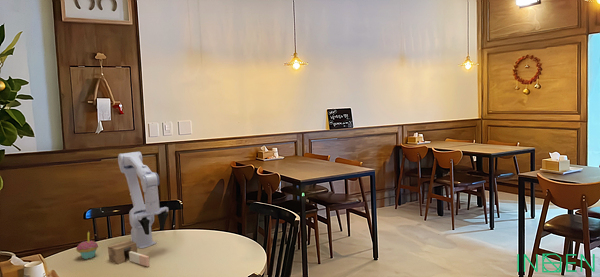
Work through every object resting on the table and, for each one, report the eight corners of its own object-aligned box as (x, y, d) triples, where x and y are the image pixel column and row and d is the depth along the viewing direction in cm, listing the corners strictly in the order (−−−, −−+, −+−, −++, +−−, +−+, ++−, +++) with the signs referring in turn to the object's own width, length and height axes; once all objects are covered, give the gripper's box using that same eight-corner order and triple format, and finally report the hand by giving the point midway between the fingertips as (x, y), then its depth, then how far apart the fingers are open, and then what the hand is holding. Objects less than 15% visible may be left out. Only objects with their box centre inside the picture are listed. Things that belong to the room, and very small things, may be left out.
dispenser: (109, 260, 189) (107, 246, 188) (128, 253, 196) (127, 240, 195) (119, 264, 184) (117, 249, 183) (138, 256, 191) (137, 243, 191)
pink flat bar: (129, 260, 186) (128, 252, 186) (132, 259, 187) (131, 251, 187) (147, 266, 179) (146, 257, 178) (149, 265, 180) (148, 256, 179)
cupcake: (103, 254, 196) (100, 228, 195) (87, 262, 189) (83, 234, 187) (89, 252, 200) (86, 226, 198) (73, 259, 192) (69, 232, 191)
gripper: (142, 206, 183) (145, 238, 185) (171, 198, 195) (174, 228, 196) (132, 204, 187) (135, 235, 189) (161, 196, 199) (164, 226, 201)
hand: (154, 231), depth 193 cm, fingers open, 7 cm apart
